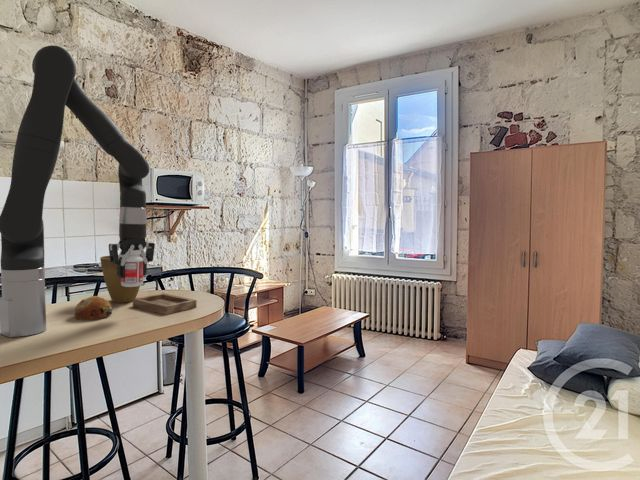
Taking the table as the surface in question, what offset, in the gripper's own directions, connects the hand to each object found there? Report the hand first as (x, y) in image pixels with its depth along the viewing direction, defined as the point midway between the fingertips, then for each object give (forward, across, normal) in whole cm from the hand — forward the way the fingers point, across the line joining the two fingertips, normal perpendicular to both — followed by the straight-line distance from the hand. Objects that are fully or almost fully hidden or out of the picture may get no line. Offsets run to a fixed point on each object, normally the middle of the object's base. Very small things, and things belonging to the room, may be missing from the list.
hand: (132, 276), depth 123 cm
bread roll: (+13, -6, +9) cm, 17 cm away
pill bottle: (+3, 0, 0) cm, 3 cm away
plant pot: (+13, +11, +22) cm, 27 cm away
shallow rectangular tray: (+12, +14, +2) cm, 18 cm away
